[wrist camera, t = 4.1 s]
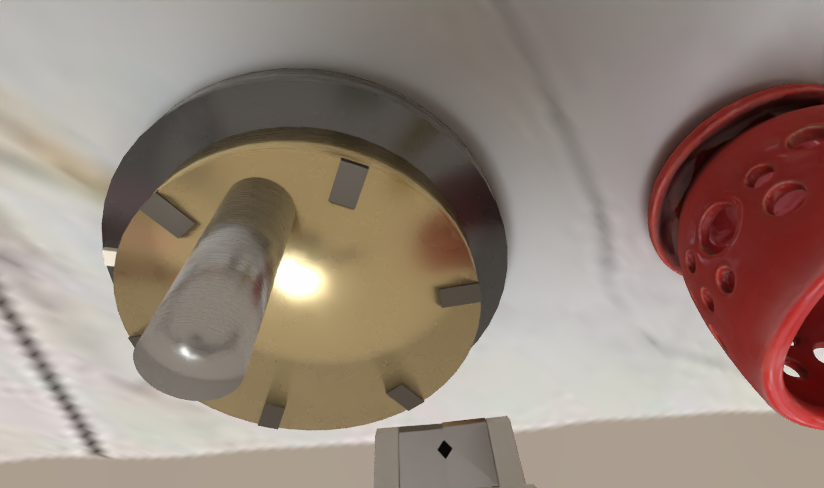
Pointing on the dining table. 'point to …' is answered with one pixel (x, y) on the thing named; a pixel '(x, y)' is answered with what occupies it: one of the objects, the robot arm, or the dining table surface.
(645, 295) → the dining table surface
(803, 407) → the plant pot
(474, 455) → the robot arm
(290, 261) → the tan disc with rod
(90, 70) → the dining table surface
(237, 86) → the grey round ring
